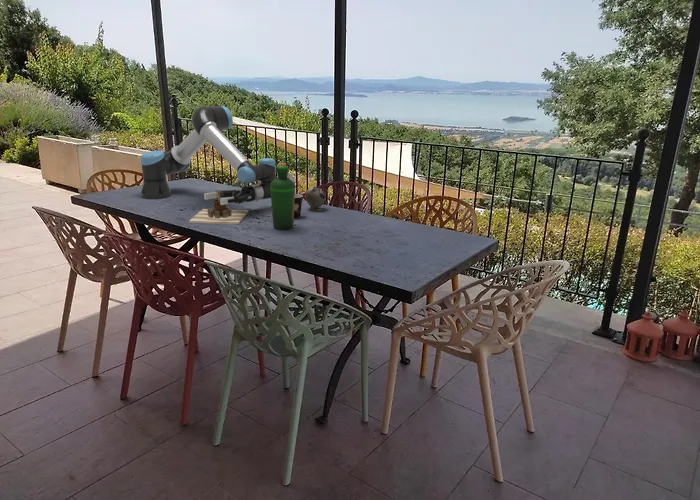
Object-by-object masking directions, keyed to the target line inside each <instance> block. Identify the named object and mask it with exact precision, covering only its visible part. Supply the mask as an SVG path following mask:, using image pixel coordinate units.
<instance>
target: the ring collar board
mask: <svg viewBox="0 0 700 500" xmlns="http://www.w3.org/2000/svg"><path fill="white" fill-rule="evenodd" d="M226 209H227V210H225V211H222V214H223V216H222V217H220V211H215V216H214V213H213V206H211V208H210V207H208V208H202V209H201V210H200V211H198V213H196V214H195V215H194V216H192V217H191V219H189V220H188V223H189V224H209V225H211V224H212V225H215V224H216V225H240V223H241V222H242V221H243V220H244V219H245V217H246V216H247V215H248V213H249V210H248V209H232V208H231V207H230V206H226Z"/></svg>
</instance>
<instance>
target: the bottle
mask: <svg viewBox="0 0 700 500" xmlns="http://www.w3.org/2000/svg"><path fill="white" fill-rule="evenodd" d="M277 164H278V165H277V166H276V174H277V177H276V179H275V180H273V181H272V182H271V184H270V191H271V198H270V201H271V213H272V225H273V228H274V229H276V230H282V231H284V230H290V229H293V227H294V219H295V218H294V201H295V194H296V184H295V182H294V181H293V180H292V179H290V178H289V177H288V175H289V174H288V173H289V172H290V169H289V166H288V165H287V163H286V162H278V163H277Z"/></svg>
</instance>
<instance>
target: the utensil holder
mask: <svg viewBox="0 0 700 500" xmlns="http://www.w3.org/2000/svg"><path fill="white" fill-rule="evenodd" d="M216 191H217V192H216V197H217V198H218V199H214V200H213V206H212V207H213V213H214V216H215V211H220V217H222V216H223V214H222V211H225V210H227V209H226V207H227V204H225V205H220V199H222V198H223V197H220V194H219V196H217V195H218V192H219V191H220V190H216ZM221 193H223V192H221ZM222 196H223V195H222Z"/></svg>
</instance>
